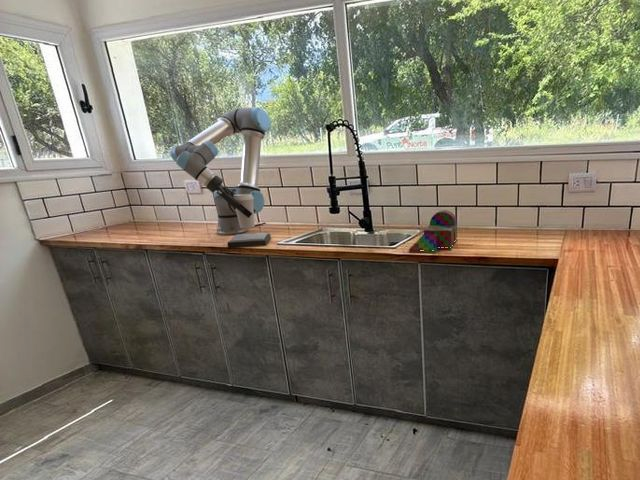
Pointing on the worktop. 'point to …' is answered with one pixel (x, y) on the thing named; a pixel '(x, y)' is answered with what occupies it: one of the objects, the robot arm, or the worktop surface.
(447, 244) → the block
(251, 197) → the coffee cup
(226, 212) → the robot arm
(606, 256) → the worktop surface
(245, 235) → the kitchen scale
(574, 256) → the worktop surface
